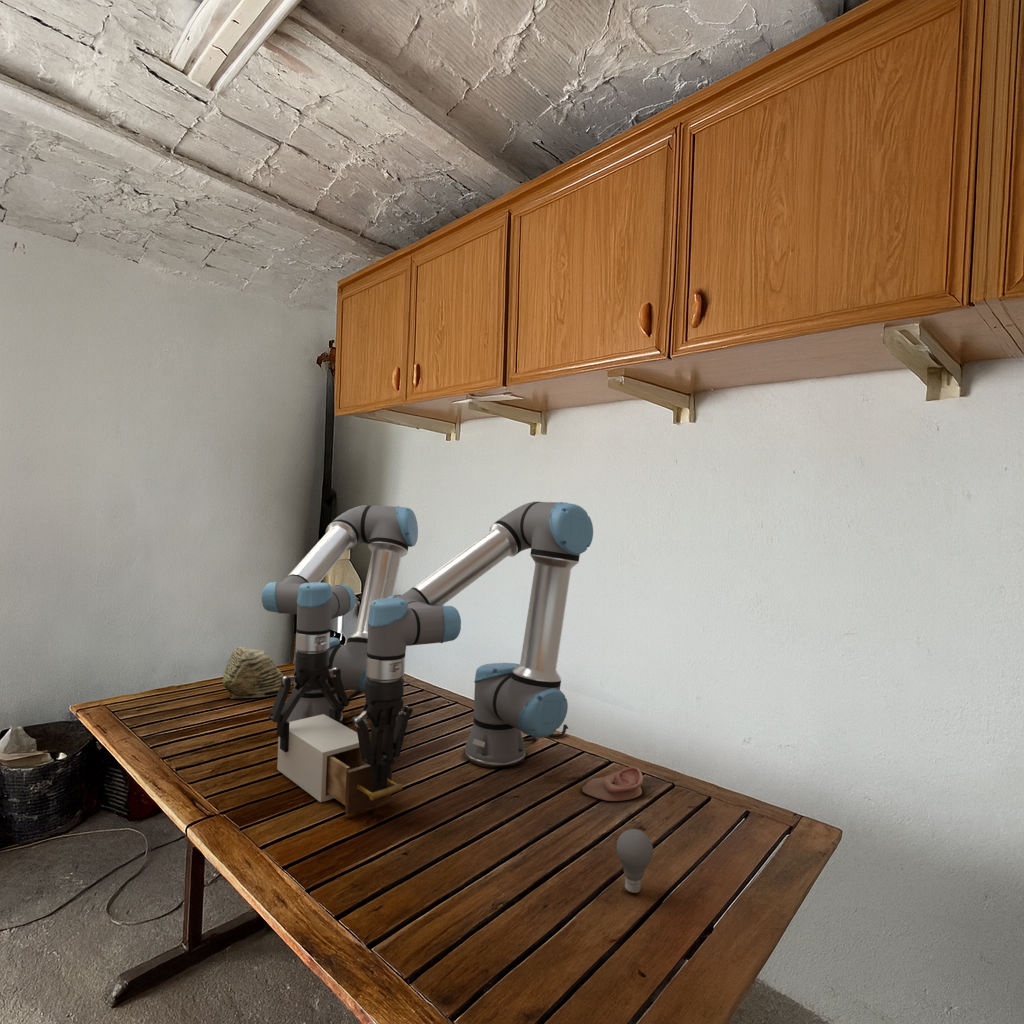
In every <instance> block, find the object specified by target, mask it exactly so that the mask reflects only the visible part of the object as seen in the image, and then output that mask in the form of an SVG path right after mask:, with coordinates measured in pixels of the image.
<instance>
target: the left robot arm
mask: <svg viewBox="0 0 1024 1024" xmlns="http://www.w3.org/2000/svg"><path fill="white" fill-rule="evenodd" d="M418 525H419V524H418V520H417V516H416V513H415V512H414V510H412V508H410V507H406V506H400V505H396V506H390V505H370V504H363V505H358V506H355V507H352V508H350V509H348V510H346V511H344V512H343V513H341V514H340V515H338V516H337V517H336V518H334V519H333V520H332V521H331V522H330V523H329V524H327V526H326V529H325V534H324V535H323V536H322V537H321V538H320V539H319V540H318V542H317V543H315V545H314V546H313V547H312V548H311V549H310V551H308V553H307V554H306V555H305V556H304V557H303V558H302V559H301V560H300V562H299V563H298V564H296V566H295V567H294V568H293V569H292V570H291V572H289V573H288V574H287V576H286V577H285V578H284V579H283V580H282V581H271V582H268V583H267V584H266V585H264V586H263V589H262V592H261V604H262V607H263V609H264V610H266V611H267V612H271V613H277V614H286V615H287V614H288V615H296V631H295V652H294V653H295V654H294V659H293V661H294V672H293V675H288V676H287V675H284V674H282V675H283V676H282V677H281V686H280V689H279V691H278V694H276V698H275V699H274V701H273V704H272V708H271V710H270V713H269V715H268V719H269V720H270V721H271V722H273V723H276V735H277V737H278V736H279V737H280V749H281V750H282V751H284V752H288V749H289V724H290V723H289V722H291V721H296V720H300V719H305V718H309V717H313V716H318V715H322V714H324V715H326V716H328V717H330V718H332V719H333V720H335V721H337V722H339V723H341V724H342V723H343V722H344V714H343V711H344V710H345V709H344V708H346V707H348V706H349V704H350V703H349V699H350V698H351V697H353V696H354V695H356V694H358V693H360V692H362V693H365V682H366V679H367V678H368V677H367V676H366V661H367V646H368V617H369V609H370V604H371V603H372V602H373V601H374V600H376V599H381V598H388V597H389V596H392V595H395V590H396V587H397V586H396V585H397V582H398V576H399V571H400V566H401V561H402V558H403V557H405V556H406V555H408V551H409V548H413V547H416V544H417V542H418V539H419V526H418ZM361 544H367V547H368V549H369V550H370V552H371V556H370V559H369V560H370V561H369V564H368V569H367V574H366V578H365V584H364V587H363V592H362V596H361V602H360V605H359V611H358V614H357V615H358V616H357V620H356V623H355V624H356V625H355V628H354V632H353V633H352V634H350V635H349V636H348V637H347V639H346V644H340V643H341V641H340V639H339V638H338V637H334V636H333V637H331V620H333V619H336V618H339V617H344V616H345V615H347V614H348V613H350V612H351V611H352V610H353V609H354V608H355V606H356V603H357V602H356V601H357V596H356V593H355V591H354V590H353V589H352V588H351V587H350V586H348V585H345V584H335V585H331V584H330V583H329V582H323V580H324V578H325V577H326V576H327V575H328V574H329V572H330V571H331V570H332V569H333V568H334V567H335V565H336V564H337V563H338V561H339V560H340V559H341V558H342V557H343V555H344V554H345V553H346V551H350V550H352V549H354V548H355V546H356V545H361ZM292 686H293V688H292V690H291V687H292ZM346 690H347V691H348V690H349V691H351V692H350V693H348V694H346ZM290 691H292V692H291V693H290ZM289 694H290V695H289ZM288 696H289V697H288Z"/></svg>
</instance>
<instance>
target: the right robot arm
mask: <svg viewBox="0 0 1024 1024" xmlns="http://www.w3.org/2000/svg"><path fill="white" fill-rule="evenodd" d="M593 538H594V526H593V521H592V518H591V516H589V513H588V512H587V511H586V510H585V509H584V507H582V506H580V505H579V504H575V503H570V502H563V501H560V502H555V501H554V502H553V501H531V502H527V503H525V504H522V505H520V506H518V507H516V508H515V509H513V510H511V511H510V512H508V513H507V514H505V515H503V516H502V517H501V518H499V519H498V520H496V521H495V522H493V523H492V524H491V525H490V527H489V531H487V533H485V534H484V535H482V536H481V537H480V538H478V539H477V540H476V541H474V542H473V543H472V544H470V545H469V546H467V547H466V548H465V549H464V550H462V551H460V552H459V553H458V554H456V555H455V556H453V557H452V558H451V559H450V560H448V561H447V562H446V563H444V564H443V565H442V566H440V567H438V568H437V569H435V570H434V571H433V572H432V573H431V574H429V575H428V576H426V577H425V578H424V579H422V580H421V581H419V582H418V583H416V584H415V585H414V586H413V587H411V588H410V589H408V590H407V591H405V592H404V593H403V594H394V595H392V596H389V597H388V598H381V599H376V600H374V601H373V602H372V603H371V604H370V609H369V617H368V646H367V661H366V676H367V677H368V678H367V679H366V682H365V692H364V697H365V703H364V706H363V708H362V710H363V711H362V712H361V713H360V714H359V715H358V716H356V715H355V716H353V717H352V718H351V723H353V725H354V727H355V728H356V732H357V735H358V741H359V746H360V752H361V758H362V761H363V762H365V763H367V764H368V765H371V771H370V772H371V773H370V778H371V780H372V781H373V792H376V791H379V790H382V789H384V788H387V778H389V777H390V771H391V770H390V769H391V764H392V765H393V764H394V763H395V758H399V757H400V756H401V753H402V748H403V745H404V740H405V735H406V731H407V727H408V723H409V719H410V717H412V714H413V711H414V709H413V708H412V707H410V706H408V705H406V704H404V700H403V697H404V690H405V679H404V678H403V677H404V676H405V668H406V667H405V666H406V652H407V651H406V650H407V647H412V646H418V645H419V646H420V645H432V644H443V643H448V642H453V641H454V640H456V639H457V638H459V635H460V634H461V630H462V619H461V615H460V612H459V610H458V608H456V607H455V606H453V605H446V604H447V603H448V602H449V601H451V600H452V599H453V598H455V597H456V596H457V595H458V594H460V593H461V592H462V591H464V590H465V589H467V588H468V587H469V586H470V585H472V584H473V583H475V582H476V581H477V580H478V579H479V578H481V577H482V576H483V575H485V574H486V573H488V572H489V571H490V570H491V569H492V568H494V567H496V566H497V565H499V564H500V563H501V562H502V561H503V560H505V559H506V558H507V557H511V558H512V557H515V556H516V555H518V554H519V553H521V552H522V551H526V550H530V554H529V556H530V557H531V559H532V561H534V571H533V577H532V583H531V590H530V596H529V603H528V608H527V609H528V610H527V615H526V621H525V622H526V623H525V630H524V636H523V642H522V650H521V654H520V655H521V656H520V662H519V663H515V662H494V663H493V662H492V663H486V664H482V665H480V666H478V667H477V668H476V670H475V677H474V681H473V682H474V696H473V722H472V723H473V724H472V727H471V730H470V732H469V734H468V738H467V740H466V743H465V746H464V747H465V748H464V757H465V759H466V760H467V761H468V762H469V763H472V764H473V765H475V766H478V767H483V768H489V769H505V768H512V767H515V766H519V765H520V764H522V763H523V762H524V761H525V759H526V752H527V751H526V745H525V743H527V742H528V743H529V742H534V741H536V740H537V739H536V738H538V739H542V738H547V737H549V738H561V737H563V736H565V734H566V732H567V730H569V726H568V725H567V724H566V723H564V722H565V719H566V717H567V713H568V709H569V706H568V705H569V704H568V699H567V698H566V695H565V693H564V692H563V691H562V690H561V685H562V677H561V675H560V674H559V672H558V671H557V668H558V660H559V655H560V654H559V653H560V646H561V640H562V633H563V626H564V622H565V621H564V620H565V613H566V607H567V599H568V593H569V585H570V580H571V572H572V569H573V568H574V567H576V566H577V565H578V564H579V563H580V557H581V554H583V553H585V552H586V551H587V550H588V548H589V547H591V544H592V543H593ZM368 721H369V722H368ZM563 723H564V724H563ZM368 724H369V727H368ZM562 725H563V726H562ZM561 726H562V731H561V732H560V733H562V734H560V733H556V731H557V730H558V729H560V727H561ZM369 728H370V730H369ZM522 733H523V734H525V735H527V736H531V737H525V738H523V734H522ZM384 797H386V796H384ZM384 797H381V798H384ZM381 798H380V799H381Z"/></svg>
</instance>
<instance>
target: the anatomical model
mask: <svg viewBox="0 0 1024 1024" xmlns="http://www.w3.org/2000/svg"><path fill="white" fill-rule="evenodd" d="M643 782H644V775H643V773H642V771H641V770H640V769H639V768H638V767H637V766H630V767H625V768H623V769H620V770H617V771H615V772H613V773H610V774H608V775H605V776H604V777H596V778H595V777H594V778H592V779H590V780H588V781H587V782H586V783H585V784H584V785H583V786H582V788H581V792H582V793H583V794H585V795H587V796H590V797H593V798H595V799H598V800H602V801H606V802H619V801H621V802H622V801H628V800H633V799H635V798H638V797H640V796H641V795H642V793H643V789H642V787H641V786H642V784H643Z"/></svg>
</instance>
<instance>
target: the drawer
mask: <svg viewBox="0 0 1024 1024" xmlns="http://www.w3.org/2000/svg"><path fill="white" fill-rule="evenodd" d="M390 770H391V771H390V777H389V778H387V788H384V789H382V790H379V791H376V792H373V781H372V780H371V778H370V773H371V772H370V771H371V765H368V764H367V763H365V762H363V761H362V758H361V752H360V747H358V748H355V749H351V750H348V751H344V752H341V753H337V754H333V755H330V756H327V772H326V792H327V793H328V794H330V795H331V796H332V797H334V798H333V799H335V800H336V801H338V802H339V803H341V804H342V805H343V806H344V813H345V814H346V815H351V814H355V813H356V812H359V811H360V812H361V811H363V810H365V809H367V808H371V807H373V806H376V805H380V804H382V803H384V802H388V801H389V800H392V794H394V793H397V792H400V791H402V790H403V784H402V783H401V782H400V783H396V782H395V781H394V780H393V764H391V769H390ZM384 796H386V797H384ZM381 797H384V798H381ZM380 798H381V799H380Z"/></svg>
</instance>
